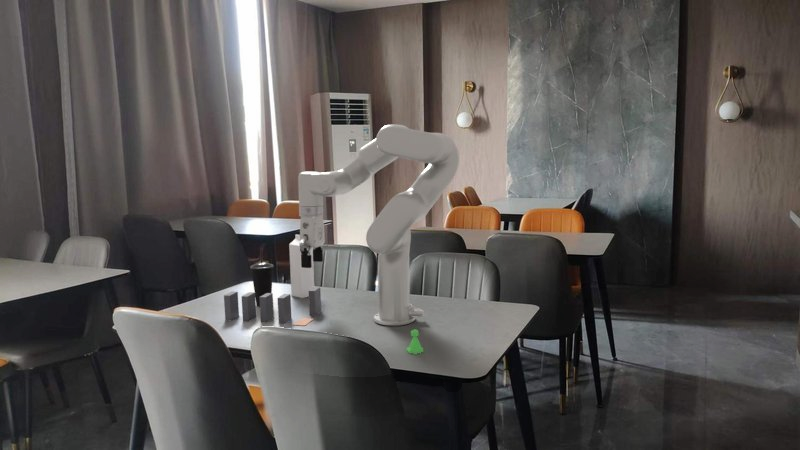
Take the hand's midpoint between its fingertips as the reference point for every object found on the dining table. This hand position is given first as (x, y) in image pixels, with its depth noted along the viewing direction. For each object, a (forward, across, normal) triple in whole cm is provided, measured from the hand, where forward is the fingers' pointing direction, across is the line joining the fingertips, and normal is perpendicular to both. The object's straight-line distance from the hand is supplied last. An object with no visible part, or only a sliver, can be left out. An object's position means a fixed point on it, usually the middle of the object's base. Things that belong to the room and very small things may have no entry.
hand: (312, 264), depth 192 cm
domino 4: (+16, -10, +5) cm, 20 cm away
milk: (+16, +21, +12) cm, 29 cm away
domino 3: (+16, -10, +11) cm, 22 cm away
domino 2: (+16, -10, +17) cm, 26 cm away
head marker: (+16, -10, -1) cm, 19 cm away
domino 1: (+16, -10, +23) cm, 30 cm away
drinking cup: (+16, +6, +20) cm, 27 cm away
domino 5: (+16, 0, -1) cm, 16 cm away
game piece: (+15, -29, -40) cm, 52 cm away
